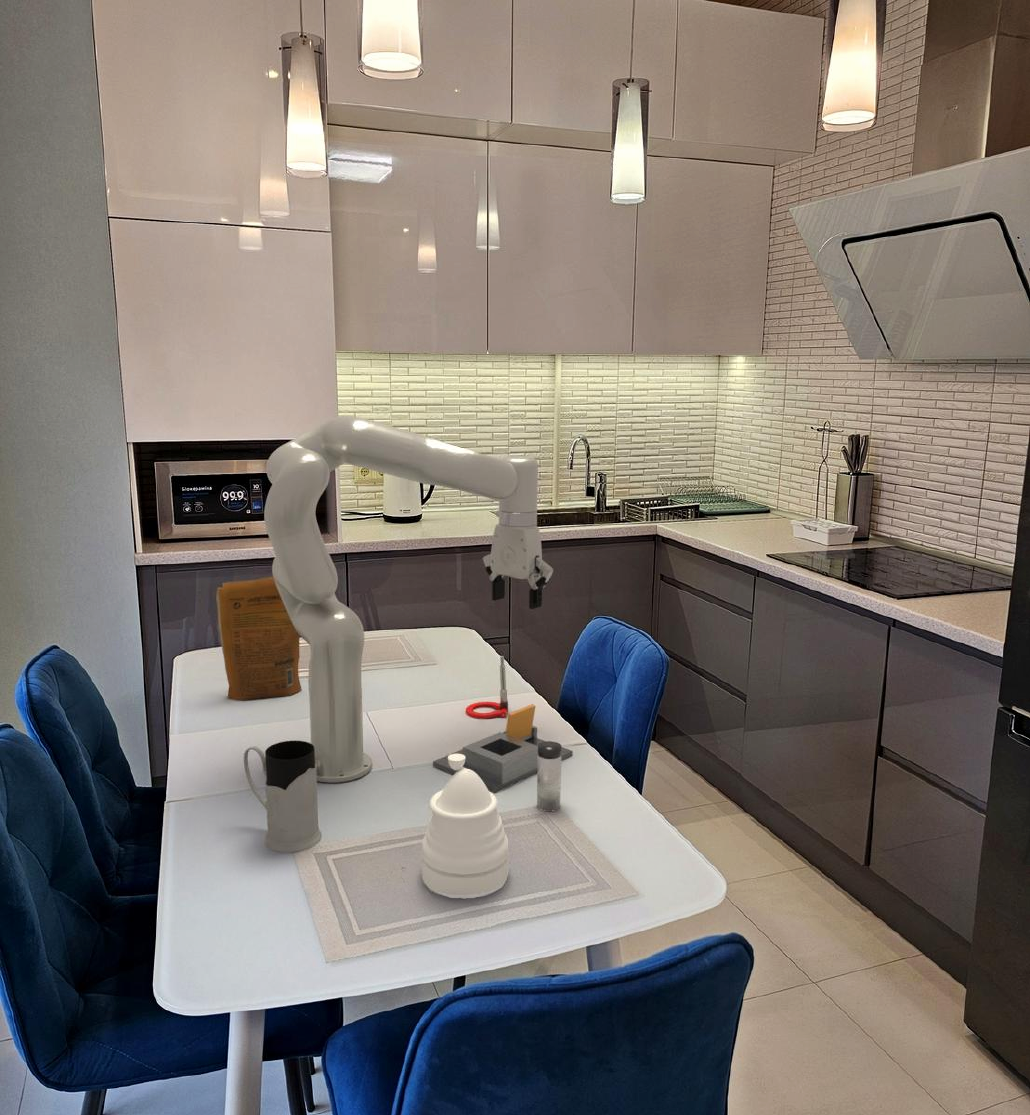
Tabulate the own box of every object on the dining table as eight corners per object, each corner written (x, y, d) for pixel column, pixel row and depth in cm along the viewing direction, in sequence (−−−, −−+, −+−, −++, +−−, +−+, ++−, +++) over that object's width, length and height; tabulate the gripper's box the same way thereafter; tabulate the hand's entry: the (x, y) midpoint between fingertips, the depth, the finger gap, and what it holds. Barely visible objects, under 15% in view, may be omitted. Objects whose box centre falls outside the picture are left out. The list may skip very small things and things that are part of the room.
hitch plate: (494, 793, 160) (494, 766, 159) (433, 766, 170) (432, 741, 169) (572, 755, 176) (573, 731, 175) (511, 733, 186) (512, 710, 185)
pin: (549, 813, 153) (551, 752, 151) (532, 806, 155) (533, 746, 153) (564, 805, 156) (566, 745, 153) (547, 798, 158) (548, 739, 156)
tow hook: (463, 720, 194) (506, 720, 194) (461, 663, 192) (504, 662, 191) (467, 706, 202) (509, 706, 202) (465, 651, 200) (506, 650, 199)
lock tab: (505, 750, 176) (510, 716, 173) (501, 747, 176) (507, 713, 174) (531, 738, 181) (536, 705, 179) (527, 736, 182) (533, 703, 179)
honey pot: (404, 873, 134) (402, 760, 130) (469, 843, 143) (469, 736, 139) (461, 910, 125) (461, 790, 122) (526, 875, 134) (528, 762, 130)
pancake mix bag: (310, 696, 206) (305, 576, 200) (222, 705, 200) (215, 582, 194) (306, 686, 212) (302, 570, 206) (221, 695, 206) (214, 575, 200)
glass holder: (295, 858, 138) (291, 766, 135) (228, 834, 145) (223, 746, 142) (333, 833, 145) (330, 746, 142) (267, 812, 152) (263, 728, 149)
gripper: (472, 516, 181) (472, 599, 184) (540, 526, 170) (538, 614, 173) (497, 512, 186) (496, 593, 190) (564, 522, 176) (562, 607, 179)
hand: (516, 603), depth 182 cm, fingers open, 9 cm apart
